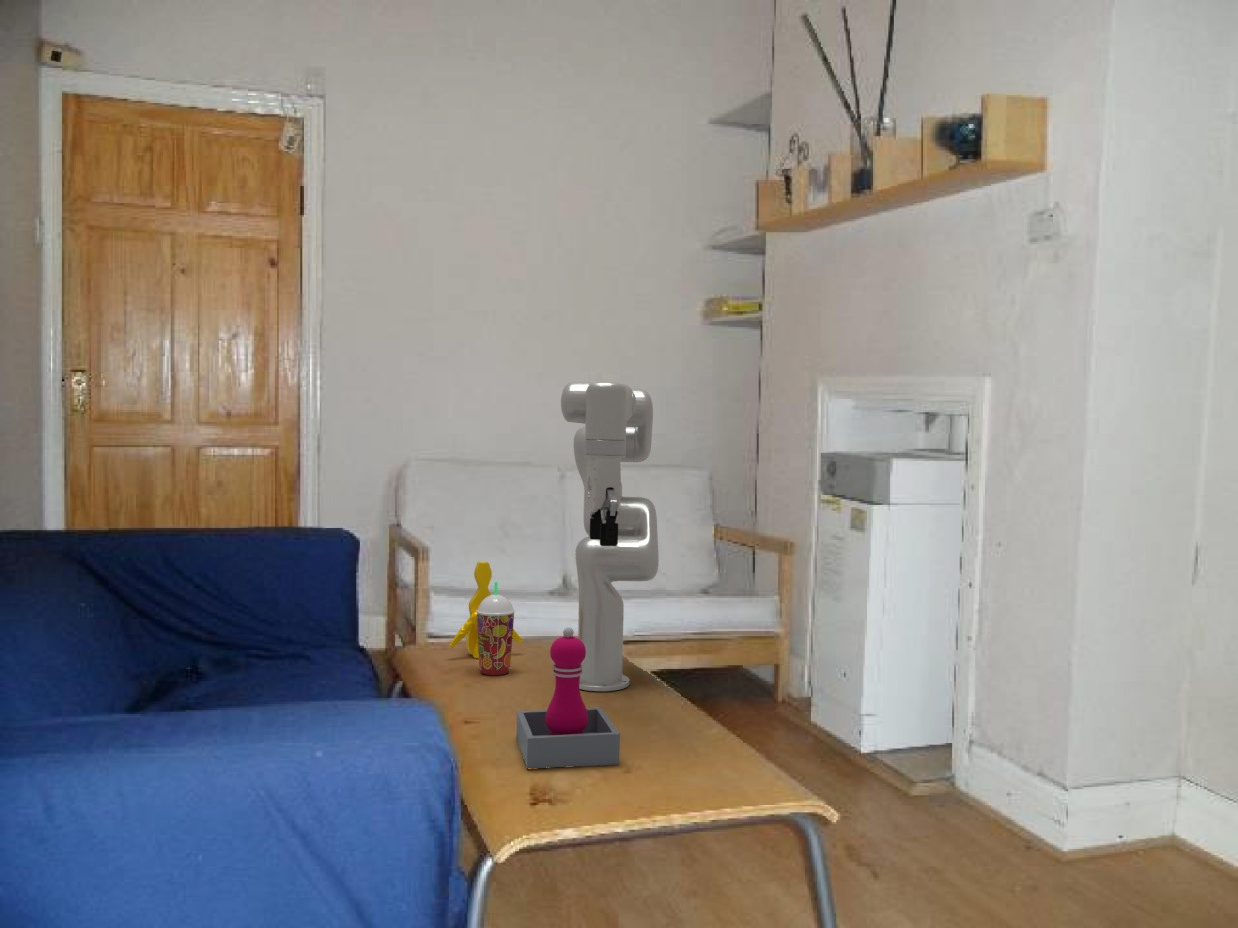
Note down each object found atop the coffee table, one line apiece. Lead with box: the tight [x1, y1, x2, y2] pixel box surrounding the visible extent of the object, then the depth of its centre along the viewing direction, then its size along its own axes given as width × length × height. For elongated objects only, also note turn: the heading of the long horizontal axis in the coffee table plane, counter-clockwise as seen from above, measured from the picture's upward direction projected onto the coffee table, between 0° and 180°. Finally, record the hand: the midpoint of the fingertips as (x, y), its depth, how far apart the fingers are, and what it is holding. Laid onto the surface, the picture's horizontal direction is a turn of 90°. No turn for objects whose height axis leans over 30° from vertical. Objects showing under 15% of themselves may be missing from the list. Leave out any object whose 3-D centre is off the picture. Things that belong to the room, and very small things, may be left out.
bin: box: [515, 707, 621, 769], centre depth 164 cm, size 15×15×5 cm
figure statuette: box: [448, 561, 524, 659], centre depth 231 cm, size 18×8×22 cm, turn 113°
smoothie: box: [476, 581, 516, 676], centre depth 215 cm, size 8×8×20 cm
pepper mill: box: [545, 627, 588, 735], centre depth 164 cm, size 7×7×20 cm
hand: (603, 542), depth 181 cm, fingers open, 9 cm apart
